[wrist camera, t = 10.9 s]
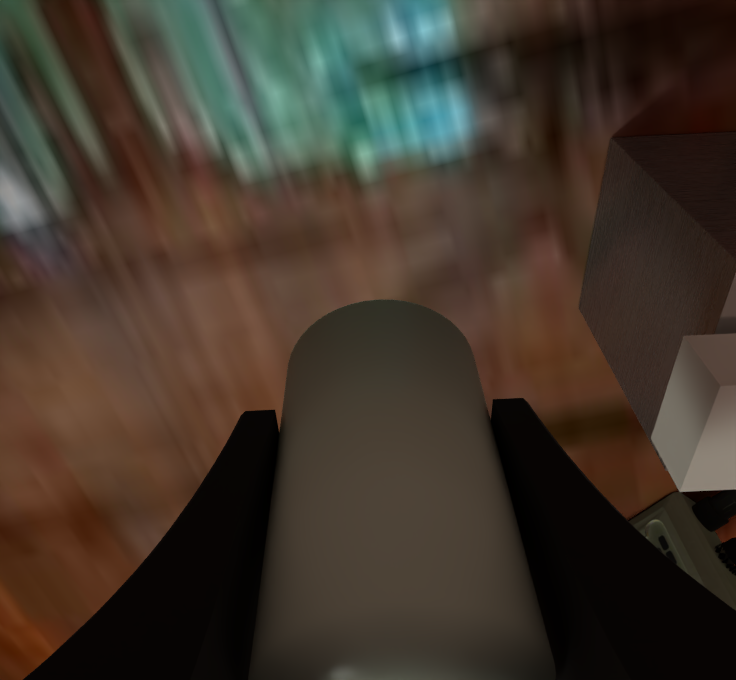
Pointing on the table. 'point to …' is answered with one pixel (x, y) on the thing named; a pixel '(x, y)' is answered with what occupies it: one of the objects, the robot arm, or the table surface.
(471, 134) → the table surface
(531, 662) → the plug
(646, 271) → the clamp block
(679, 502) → the handheld radio
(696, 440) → the pale grey rectangular box
